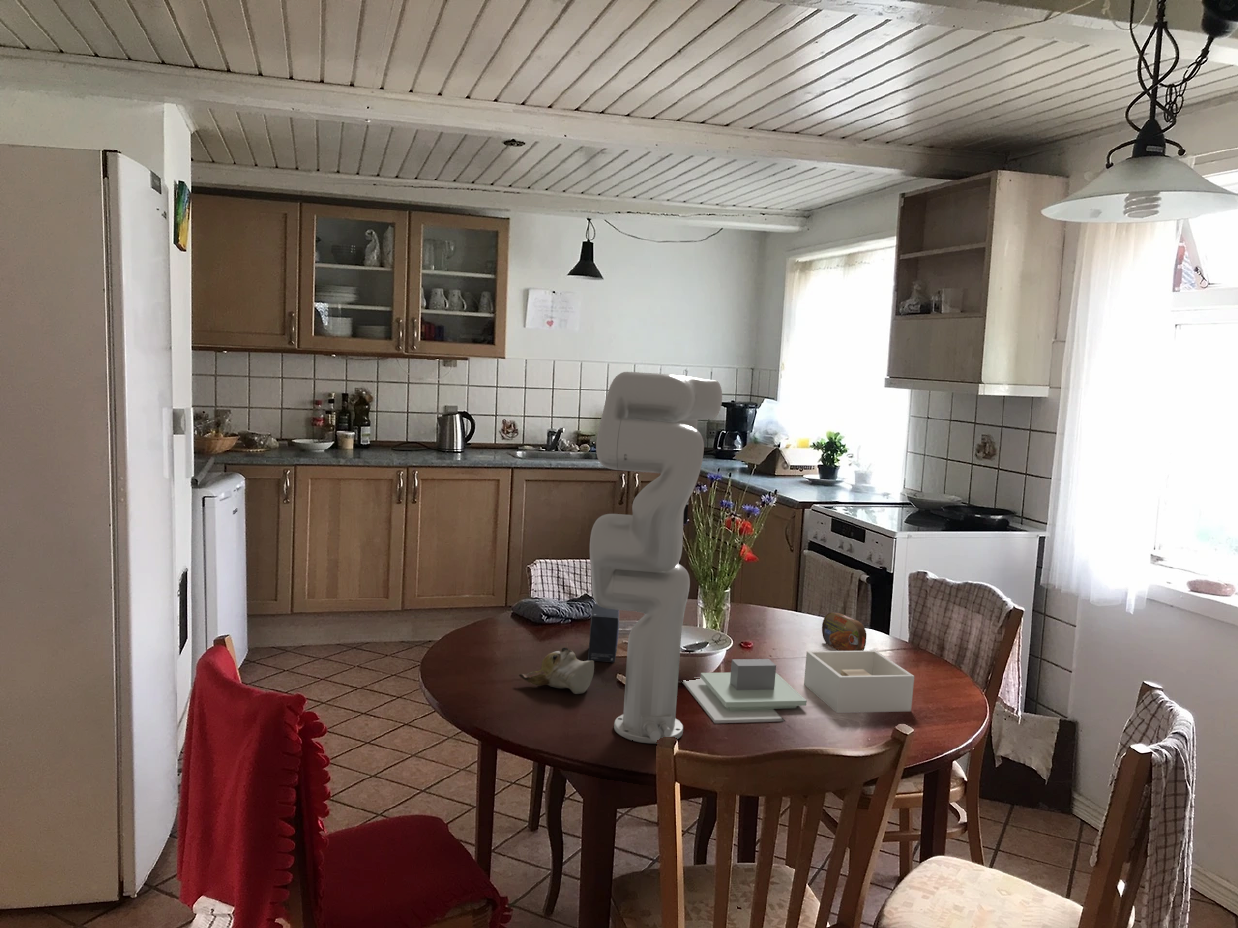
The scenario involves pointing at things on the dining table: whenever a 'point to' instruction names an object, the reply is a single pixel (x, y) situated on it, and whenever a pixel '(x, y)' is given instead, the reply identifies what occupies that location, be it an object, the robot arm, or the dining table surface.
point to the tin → (843, 632)
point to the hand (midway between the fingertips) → (672, 519)
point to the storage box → (858, 682)
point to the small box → (603, 634)
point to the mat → (723, 713)
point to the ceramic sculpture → (563, 672)
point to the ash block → (854, 672)
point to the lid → (753, 686)
